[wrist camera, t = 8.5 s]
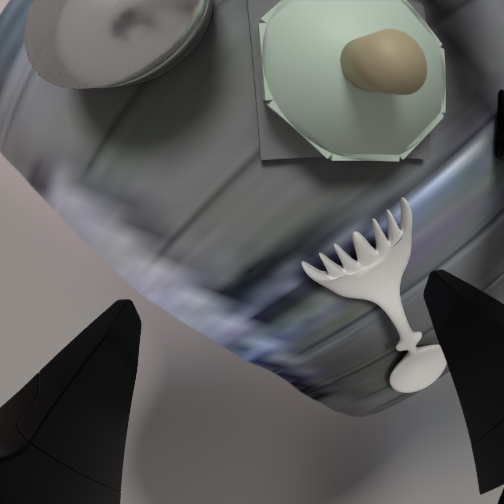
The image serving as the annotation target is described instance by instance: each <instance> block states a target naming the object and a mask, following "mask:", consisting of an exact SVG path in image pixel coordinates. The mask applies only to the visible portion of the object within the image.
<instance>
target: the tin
mask: <svg viewBox="0 0 504 504" xmlns="http://www.w3.org/2000/svg"><path fill="white" fill-rule="evenodd" d="M212 10H213V0H33V2H32V4H31V6H30V9H29V13H28V16H27V20H26V25H25V47H26V52H27V56H28V58H29V61H30V63H31V65H32V66H33V68H34V70H35V71H36V72H37V73H38V74H39V75H40V76H41V77H42V78H43V79H45V80H46V81H48V82H50V83H51V84H53V85H56V86H59V87H63V88H70V89H85V88H110V87H122V86H130V85H135V84H140V83H143V82H147V81H150V80H152V79H154V78H157V77H159V76H161V75H163V74H164V73H166V72H168V71H170V70H171V69H172V68H174V67H175V66H177V65H178V64H179V63H180V62H182V61H183V60H184V59H185V58H186V57H187V56H188V55H189V54H190V53H191V52H192V51H193V50H194V49H195V47H196V46H197V45H198V44H199V42H200V41H201V39H202V37H203V36H204V34H205V32H206V30H207V28H208V26H209V23H210V19H211V16H212Z"/></svg>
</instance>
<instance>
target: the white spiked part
mask: <svg viewBox="0 0 504 504" xmlns="http://www.w3.org/2000/svg"><path fill="white" fill-rule="evenodd" d="M372 223H373V229H374V234H375V239H376V247H375V249H374V248H373V247H372V246H371V245H370V244H369V243H368V241H367V240H366V239H365V238H364V237H363V236H362V235H361V234H360V233H358V232H354V233H353V243H354V247H355V250H356V254H357V261H356V260H353V259H352V258H351V257H350V256H349V255H348V254H347V253H346V252H345V251H344V250H343V249H342V248H341V247H340V246H338V245H337V244H335V243H334V247H335V250H336V252H337V254H338V256H339V258H340V260H341V262H342V265H343V266H340V265H338V264H336V263H334V262H333V261H332V260H330V259H329V258H328V257H326V256H325V255H324V254H322V253H319V255H320V258H321V260H322V261H323V263H324V265H325V267H326V269H327V271H321V270H318V269H317V268H315V267H313V266H312V265H310V264H308V263H306V262H304V261H302V262H301V263H302V267H303V269H304V270H305V272H306V273H307V275H308V276H309V277H311V278H312V279H313V280H314V281H316V282H317V283H319V284H321V285H323V286H325V287H326V288H328V289H330V290H331V291H333V292H335V293H336V294H338V295H340V296H343V297H348V298H357V299H365V300H369V301H372V302H374V303H376V304H377V305H379V306H380V307H381V308H382V309H383V310H384V311H385V312H386V314H387V315H388V316H389V318H390V319H391V321H392V322H393V324H394V325H395V327H396V329H397V331H398V333H399V336H400V340H399V342H398V343H397V345H396V349H397V350H398V351H404V350H408V353H407V354H406V355H405V356H404V358H403V359H402V360H401V361H400V362H399V363H398V364H397V366H396V367H395V368H394V370H393V371H392V373H391V376H390V384H391V386H392V388H393V389H394V390H396V391H399V392H404V393H410V392H415V391H418V390H421V389H423V388H425V387H427V386H429V385H430V384H431V383H433V382H434V381H435V380H436V379H437V378H438V377H439V376H440V375H441V374H442V372H443V370H444V368H445V367H446V364H447V362H446V359H445V357H444V354H443V352H442V349H441V347H440V345H437V344H434V345H427V346H422V347H416V344H417V343H418V342H419V341H420V339H421V338H422V333H421V332H419V331H418V332H413V331H412V330H411V328H410V326H409V324H408V321H407V319H406V316H405V313H404V310H403V307H402V303H401V299H400V282H401V278H402V275H403V273H404V270H405V268H406V266H407V263H408V261H409V258H410V255H411V248H412V212H411V208H410V205H409V204H408V202H407V201H406V200H405V198H403V197H402V198H401V221H400V224H399V226H398V225H397V223H396V221H395V219H394V217H393V215H392V214H391V212H390V211H389V210H388V209H387V223H388V236H387V238H386V237H385V235H384V233H383V231H382V230H381V228H380V226H379V224H378V222H377V221H376V220H375V219H373V220H372Z"/></svg>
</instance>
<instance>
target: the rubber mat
mask: <svg viewBox="0 0 504 504" xmlns="http://www.w3.org/2000/svg"><path fill="white" fill-rule="evenodd" d="M280 1H281V0H247V6H248V16H249V26H250V37H251V48H252V59H253V70H254V82H255V93H256V106H257V118H258V131H259V144H260V157H261V160H270V159H287V158H309V157H325V156H323V155H322V154H321V153H320V152H319V151H318V150H317V149H316V148H314V147H313V146H312V145H311V144H310V143H309V142H308V141H307V140H306V139H305V138H304V137H303V136H302V135H300V134H299V133H298V132H297V131H296V130H295V129H294V128H293V127H292V126H290V125H289V124H288V123H287V122H286V121H285V120H284V119H282V118H281V117H280V116H279V115H278V114H277V113H275V112H274V111H273V110H272V109H271V108H269V107H268V106H267V105H266V104H265V103H266V102H267V101H268V100H263V99H262V87H261V75H260V63H259V52H258V41H257V28H258V24H259V23H260V19H261V18H262V17H263V16H264V15H265V14H266V13H267V12H269V11H270V10H271V9H272V8H273V7H274V6H275V5H277V4H278V3H279V2H280ZM407 2H408V3H409V4H410V5H411V6H412V7H413V8H414V9H415V11H416V12H417V13H418V14H419V15H420V16H421V18H422V19H423V20H424V21H425V22H426V19H425V12H424V6H423V4H420V3H417V2H414V1H411V0H407ZM428 143H429V133H428V134H427V135H426V136H425V137H424V139H423V140H422V141H421V142H420V143H419V144H418V145H417V146H416V147H415V148H414V149H413V150H412V151H411V152H410V153H409V154H408V155H407V156H406V157H405V158H412V159H427V154H428Z"/></svg>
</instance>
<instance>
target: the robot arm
mask: <svg viewBox="0 0 504 504" xmlns="http://www.w3.org/2000/svg"><path fill="white" fill-rule="evenodd" d="M495 155H496V158H498V159H500V160H504V90H500V92H499V119H498V133H497V144H496V152H495ZM424 300H425V303H426V305H427V308H428V311H429V314H430V317H431V320H432V323H433V327H434V330H435V333H436V336H437V339H438V341H439V344H440V347H441V349H442V352H443V354H444V357H445V359H446V362H447V365H448V368H449V370H450V373H451V376H452V378H453V382H454V385H455V388H456V390H457V394H458V397H459V400H460V403H461V407H462V410H463V414H464V417H465V421H466V425H467V429H468V433H469V437H470V441H471V444H472V445H471V446H472V450H473V456H474V460H475V466H476V472H477V478H478V485H479V492H480V494H484V493H486V492H488V491H491V490H493V489H495V488H497V487H499V486H501V485H503V484H504V304H503V303H501V302H499V301H498V300H496V299H494V298H493V297H491V296H489V295H488V294H486V293H484V292H482V291H481V290H479V289H477V288H475V287H474V286H472V285H470V284H468V283H467V282H465V281H463V280H461V279H459V278H457V277H456V276H454V275H452V274H450V273H448V272H446V271H445V270H442V269H440V270H434V271H432V272H431V273H430V274H429V277H428V280H427V283H426V286H425V289H424ZM140 335H141V320H140V317H139V315H138V313H137V310H136V308H135V306H134V304H133V302H132V301H131V300H129V299H124V300H117V301H116V302H115V303H114V304H113V305H111V306H110V307H109V308H108V309H107V310H106V311H105V312H103V313H102V314H101V315H100V316H99V317H98V318H97V319H95V320H94V321H93V322H92V323H91V324H90V325H89V326H88V327H87V328H85V329H84V330H83V331H82V332H81V333H80V334H79V335H78V336H77V337H75V338H74V339H73V340H72V341H71V342H70V343H69V344H68V345H67V346H66V347H65V348H63V349H62V350H61V351H60V352H59V353H58V354H57V355H56V356H55V357H54V358H53V359H52V360H51V361H50V362H49V363H48V364H47V365H46V366H44V367H43V368H42V369H41V370H40V372H39V373H37V374H36V375H35V376H34V377H33V378H32V379H31V380H30V381H29V382H28V383H27V384H26V385H25V386H24V387H23V388H22V389H21V390H20V391H19V392H17V393H16V394H15V395H14V396H13V397H12V398H11V399H9V400H8V401H7V402H6V403H5V404H4V405H3V406H2V407H0V504H120V497H121V492H120V491H121V481H122V470H123V460H124V451H125V443H126V434H127V428H128V421H129V414H130V408H131V402H132V396H133V390H134V385H135V380H136V373H137V366H138V354H139V345H140ZM498 504H504V489H503V491H502V494H501V496H500V499H499V502H498Z"/></svg>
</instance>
